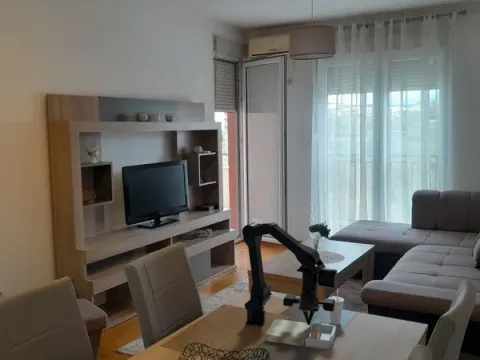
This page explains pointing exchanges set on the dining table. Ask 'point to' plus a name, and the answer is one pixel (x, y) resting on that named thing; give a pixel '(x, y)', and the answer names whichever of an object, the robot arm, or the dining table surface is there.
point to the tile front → (315, 333)
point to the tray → (322, 338)
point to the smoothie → (336, 309)
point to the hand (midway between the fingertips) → (308, 324)
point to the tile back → (318, 324)
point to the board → (288, 332)
